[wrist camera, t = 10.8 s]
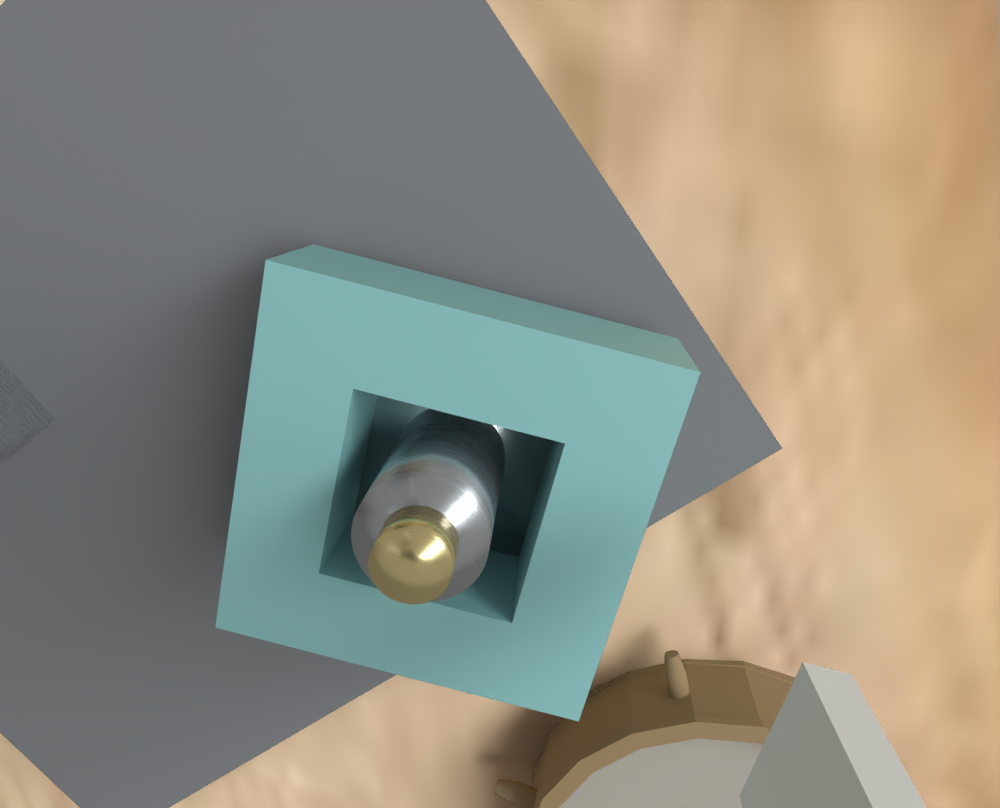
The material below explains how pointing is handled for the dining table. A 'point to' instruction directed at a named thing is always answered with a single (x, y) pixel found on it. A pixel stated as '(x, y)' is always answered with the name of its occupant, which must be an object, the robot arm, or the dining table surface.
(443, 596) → the bell
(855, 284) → the dining table surface
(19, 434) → the stand
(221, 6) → the mat
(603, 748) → the alarm clock
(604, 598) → the teal square collar
